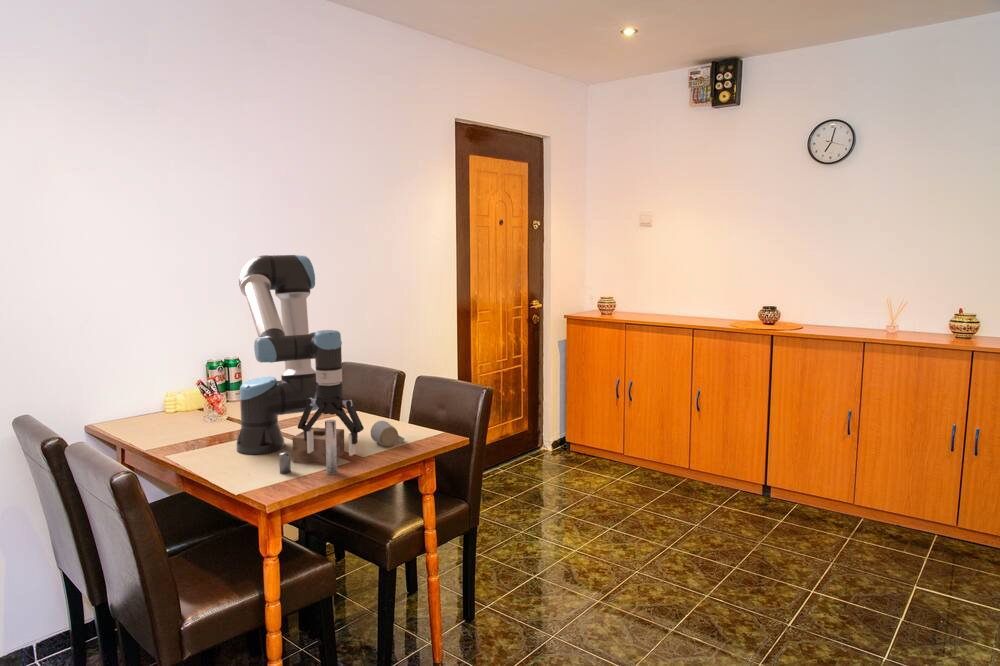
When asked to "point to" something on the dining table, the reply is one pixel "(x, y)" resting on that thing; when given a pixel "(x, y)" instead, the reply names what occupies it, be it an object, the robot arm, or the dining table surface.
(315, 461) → the hole block
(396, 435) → the ceramic mug
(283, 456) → the short pin
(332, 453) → the tall pin
